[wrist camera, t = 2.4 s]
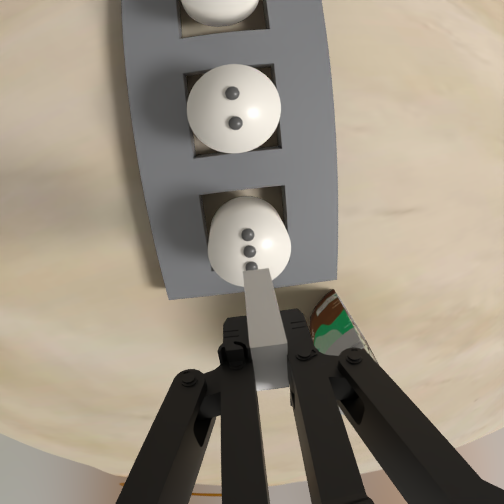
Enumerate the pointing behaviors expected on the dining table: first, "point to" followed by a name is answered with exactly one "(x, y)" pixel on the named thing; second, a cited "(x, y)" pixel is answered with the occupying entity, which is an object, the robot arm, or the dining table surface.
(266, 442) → the dining table surface
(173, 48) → the button board
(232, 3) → the one dot button
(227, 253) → the three dot button
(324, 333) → the food container
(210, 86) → the two dot button
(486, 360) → the dining table surface
